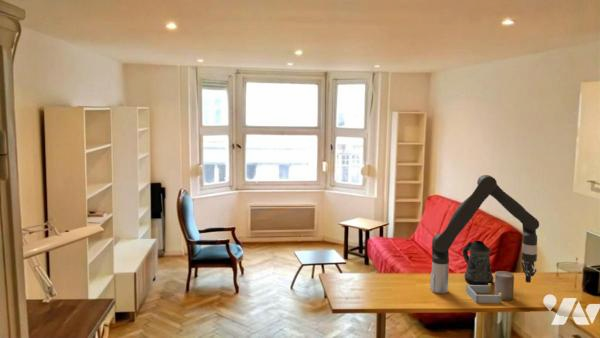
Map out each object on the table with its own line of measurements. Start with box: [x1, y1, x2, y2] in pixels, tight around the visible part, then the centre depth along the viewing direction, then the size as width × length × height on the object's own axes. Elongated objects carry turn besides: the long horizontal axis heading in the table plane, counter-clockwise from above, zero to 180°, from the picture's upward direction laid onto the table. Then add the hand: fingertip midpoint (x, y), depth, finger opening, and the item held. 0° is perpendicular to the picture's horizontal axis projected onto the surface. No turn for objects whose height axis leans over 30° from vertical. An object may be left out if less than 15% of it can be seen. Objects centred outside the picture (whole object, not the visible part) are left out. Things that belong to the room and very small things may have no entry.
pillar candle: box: [493, 270, 515, 302], centre depth 247 cm, size 10×10×15 cm
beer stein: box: [462, 240, 494, 286], centre depth 271 cm, size 16×19×25 cm
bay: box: [465, 283, 502, 304], centre depth 248 cm, size 14×15×5 cm
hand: (528, 282), depth 246 cm, fingers closed
